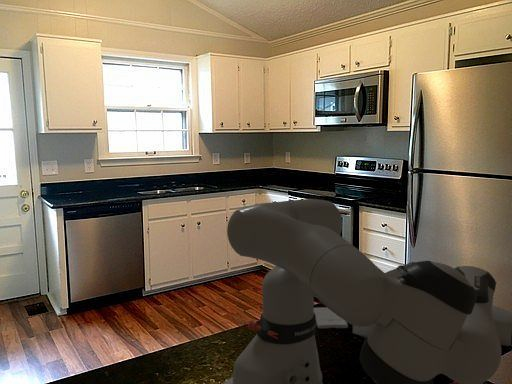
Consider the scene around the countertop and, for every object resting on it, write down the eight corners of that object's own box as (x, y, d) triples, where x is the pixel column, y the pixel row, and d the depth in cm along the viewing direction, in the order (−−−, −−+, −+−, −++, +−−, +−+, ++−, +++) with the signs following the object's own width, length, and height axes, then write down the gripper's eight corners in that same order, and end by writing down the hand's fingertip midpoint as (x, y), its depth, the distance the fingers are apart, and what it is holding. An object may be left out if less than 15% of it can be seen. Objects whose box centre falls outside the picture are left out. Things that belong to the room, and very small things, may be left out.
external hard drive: (339, 312, 132) (348, 329, 120) (312, 312, 132) (318, 330, 120) (339, 306, 132) (348, 324, 119) (312, 307, 132) (318, 324, 119)
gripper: (427, 336, 106) (377, 320, 116) (463, 312, 119) (416, 299, 129) (428, 311, 105) (378, 297, 115) (464, 290, 118) (416, 279, 129)
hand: (398, 298), depth 122 cm, fingers closed on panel, 5 cm apart
